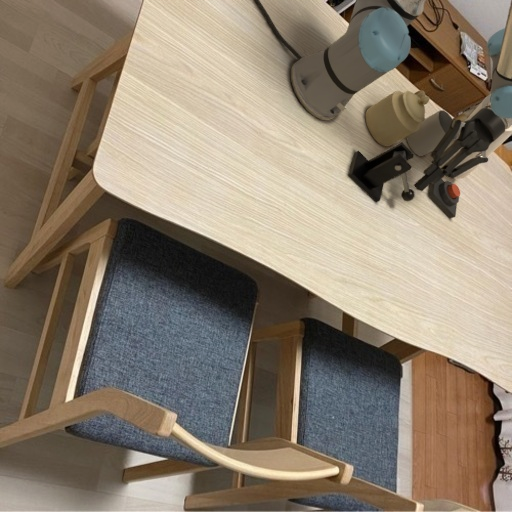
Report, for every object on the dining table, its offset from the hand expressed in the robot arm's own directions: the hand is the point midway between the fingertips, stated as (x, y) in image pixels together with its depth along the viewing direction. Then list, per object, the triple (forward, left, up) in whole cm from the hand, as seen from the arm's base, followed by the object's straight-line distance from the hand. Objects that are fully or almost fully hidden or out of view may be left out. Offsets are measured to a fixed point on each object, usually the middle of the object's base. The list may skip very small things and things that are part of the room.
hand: (417, 188), depth 133 cm
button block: (+17, +16, -8) cm, 25 cm away
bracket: (-10, -1, -8) cm, 12 cm away
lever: (-6, -1, -1) cm, 6 cm away
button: (+17, +16, -4) cm, 24 cm away
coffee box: (+17, +40, -8) cm, 44 cm away
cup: (+4, +26, -8) cm, 28 cm away
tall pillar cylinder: (+18, +29, -5) cm, 35 cm away
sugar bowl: (-10, +20, -8) cm, 24 cm away
